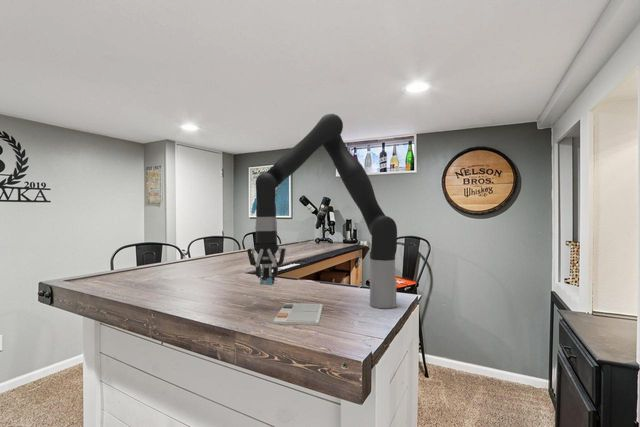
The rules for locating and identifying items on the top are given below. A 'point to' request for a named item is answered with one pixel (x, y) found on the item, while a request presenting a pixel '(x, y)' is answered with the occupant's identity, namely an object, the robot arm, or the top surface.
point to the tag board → (299, 314)
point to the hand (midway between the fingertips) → (267, 277)
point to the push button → (266, 272)
